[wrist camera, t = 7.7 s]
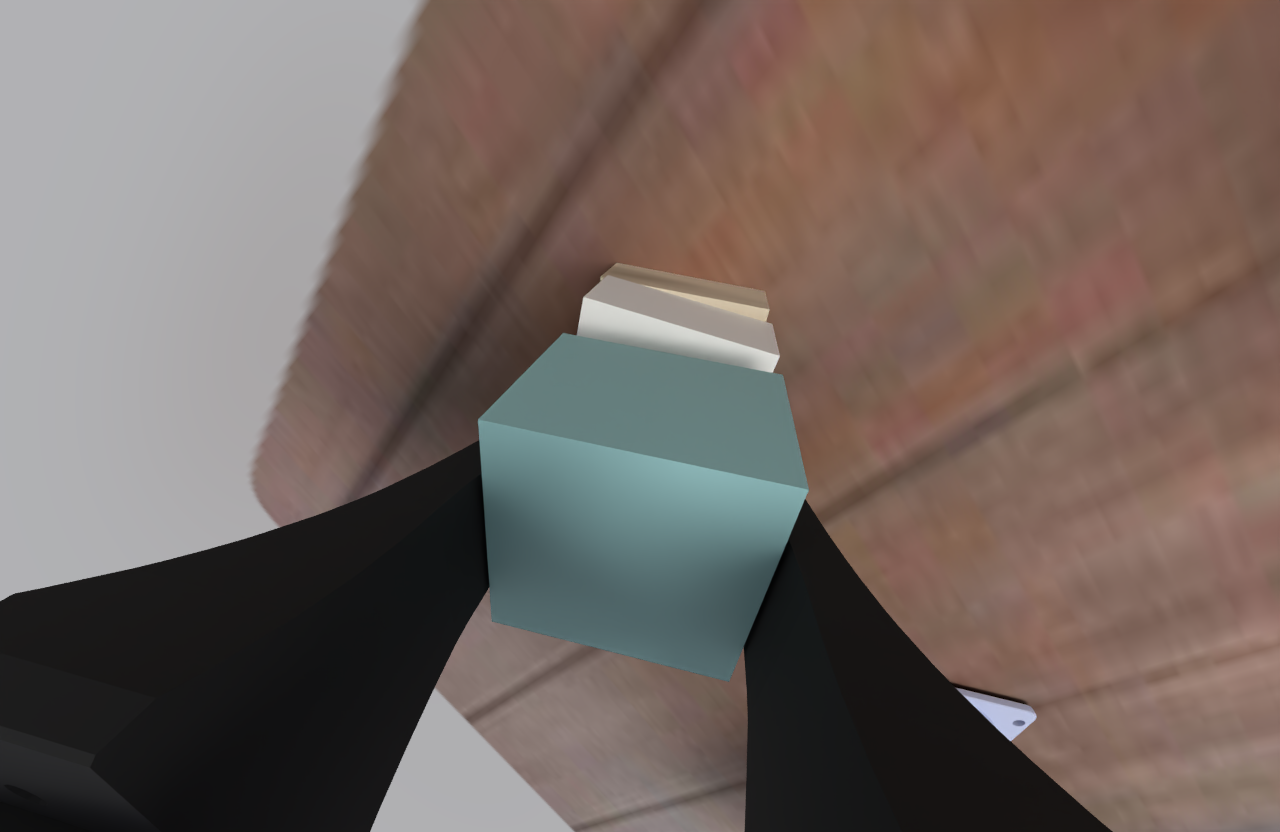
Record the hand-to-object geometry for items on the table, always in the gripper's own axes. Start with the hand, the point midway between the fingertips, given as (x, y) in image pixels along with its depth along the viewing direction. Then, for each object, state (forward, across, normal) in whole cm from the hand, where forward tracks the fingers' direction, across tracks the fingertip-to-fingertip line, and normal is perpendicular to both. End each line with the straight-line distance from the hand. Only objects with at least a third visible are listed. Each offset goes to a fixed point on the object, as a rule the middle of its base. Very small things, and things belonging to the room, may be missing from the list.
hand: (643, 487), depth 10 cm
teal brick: (+2, 0, 0) cm, 2 cm away
